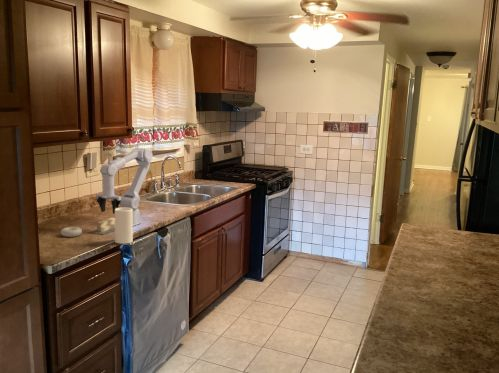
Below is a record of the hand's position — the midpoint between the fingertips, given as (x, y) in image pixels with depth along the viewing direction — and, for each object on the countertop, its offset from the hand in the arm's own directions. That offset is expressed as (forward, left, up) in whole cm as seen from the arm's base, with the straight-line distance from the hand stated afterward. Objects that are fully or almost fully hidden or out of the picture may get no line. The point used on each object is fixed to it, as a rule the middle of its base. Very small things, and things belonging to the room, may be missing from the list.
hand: (108, 212), depth 237 cm
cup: (+14, +20, -10) cm, 27 cm away
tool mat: (+1, 0, -9) cm, 9 cm away
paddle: (+1, 0, -9) cm, 9 cm away
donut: (+13, -9, -8) cm, 17 cm away
